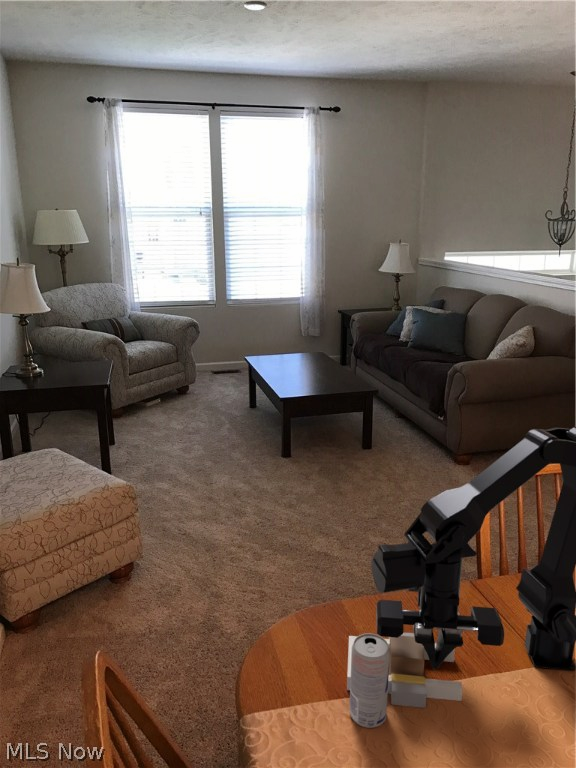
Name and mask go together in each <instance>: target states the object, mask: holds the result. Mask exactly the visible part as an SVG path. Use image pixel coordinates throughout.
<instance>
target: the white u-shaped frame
mask: <svg viewBox="0 0 576 768" xmlns="http://www.w3.org/2000/svg"><path fill="white" fill-rule="evenodd" d="M358 636H359V635H358ZM358 636H355V635H349V636H348V650H347V651H348V654H347V656H348V657H347V674H346V675H347V677H346V678H347V681H346V690H347V691H350V685H351V654H352V645H353V643H354V640H355V638H356V637H358ZM401 636H412V637H414V632H404V631H403V634H402V635H401ZM384 639H385V640H386V641H387V643H388V647H389V646H390V637H387V638H384ZM436 643H437V642H435V649H436ZM455 650H456V648H455V649H454V650H453V651H452V652H451V653H450V654H449V655H448V656H447V657H446V658H445V659H444V661H443V662H449V663H454V662H455ZM423 652H424V659H425V660H426V661H427V660H428V661H430V660H429V657H428V654H427V652H426V651H425V649H424V647H423ZM425 660H424V661H425ZM463 687H464V686H463V683H462V681H457V680H455V681H454V680H445V679H434V678H426V677H425V676H424V675H423V676H413V675H402V674H391V675H390V674H389V676H388V695H390V699H391V700H390V702H391V705H393V706H404V707H413V708H414V707H415V708H426V706H427V699H436V700H437V699H438V700H448V701H457V702H458V701H459V702H462V697H463Z"/></svg>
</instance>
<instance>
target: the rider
mask: <svg viewBox="0 0 576 768" xmlns="http://www.w3.org/2000/svg"><path fill="white" fill-rule="evenodd" d="M389 650H390V657H389V675H391V674H402V675H413V676H423V677H424V673H425V672H424V669H425V659H424V652H423V645H422V644H419V643H416V642H415V638H414V637H412V636H399V637H398V638H395V637H390V646H389Z"/></svg>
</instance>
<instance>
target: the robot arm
mask: <svg viewBox="0 0 576 768" xmlns="http://www.w3.org/2000/svg"><path fill="white" fill-rule="evenodd" d="M550 464H559V466H560V471H561V475H562V486H561V489H560V491H559V496H558V499H557V502H556V507H555V509H554V513H553V515H552V520H551V523H550V526H549V529H548V533H547V537H546V541H545V544H544V548H543V550H542V554H541V558H540V561H539V563H537V564H536V565H534V566H533V567H531V568H530V569H528V568H523V569H522V571H521V575H520V581H519V583H518V585H517V586H516V587H515V589H516V590H517V592H518V599H519V600H520V601H519V602H521V604H522V605H523V606H524V607H525V610H526V611H527V612H529V613H530V614H531V617H530V618H531V619H530V624H527V626H526V631H525V639H524V646H525V649H526V653H527V654H528V656H529V657H530V659H531V662H532V664H533V666H534V667H535V668H541V669H552V670H553V669H555V670H564V671H573V672H574V671H576V663H575V661H574V652H575V646H576V614H575V613H576V584H575V579H574V572H575V570H576V426H573V427H572V428H566V427H565V428H564V427H552V428H549V429H548V428H547V429H540V428H533V429H530V430H529V431H528V432H526V434H524V437H523V439H522V440H521V441H519V442H518V443H517V444H515V446H513V447H512V448H511V449H509V450H508V451H507V452H505V453H504V454H503V455H501V456H500V457H499V458H498V459H497V460H495V461H494V462H493V463H492V464H490V465H488V467H487V468H486V469H484V470H483V471H481V472H480V473H479V474H478V475H477V476H475V477H474V478H473V479H471V480H470V481H469V482H467V483H466V484H464V485H462V486H460V487H456V488H450V489H446V490H444V491H442V492H441V493H439V494H437V495H436V496H433V497H431V499H429V500H427V501H426V502H425V503H424V504H423V505H422V506H421V508H420V513H419V514H418V516H417V517H416V518H415V520H414V521H413V522H412V523H411V525H410V526H409V527H408V528H407V530H406V531H405V532H404V534H403V536H404V537H405V539H406V540H407V542H404V543H398V544H379V545H378V547H377V552H376V551H375V552H374V555H373V556H372V557H373V558H371V563H370V564H371V574H372V579H373V582H374V586H375V587H376V589H377V591H378V592H379V593H381V594H383V593H384V594H385V593H391V592H397V591H405V590H407V591H408V592H415V593H417V599H416V600H417V601H416V602H417V607H419V610H408V609H403V603H402V600H391V599H379V600H378V601H377V602H376V611H375V614H376V617H375V618H376V635H379V636H381V637H383V638H385V637H386V638H389V637H395V638H398V637H399V636H401V635H402V634H403V632H404V625H409V626H412V629H413V633H414V638H415V642H416V643H419V644H422V645H423V647H424V649H425V651H426V652H427V654H428V657H429V660H428V661H429V662H430V663H429V664H430V665H431V669H432V670H438V669H439V667H440V666H441V664H442V663H444V662H445V661H444V659H445V658H446V657H447V656H448V655H449V654H450V653H451V652H452V651H453V650H454V649H455V650H456V648H457V647H459V648H461V647H463V646H464V639H463V635H462V633H464V632H476V639H477V641H478V642H479V643H480V644H481V645H483V646H485V645H486V646H494V647H501V646H502V645H504V641H505V629H504V625H503V622H502V619H501V617H500V614H499V612H498V610H497V609H496V608H495V607H487V606H486V607H485V606H484V607H483V606H475V605H474V606H471V607H470V615H461V613H460V612H459V606H460V593H461V592H460V591H461V582H462V581H461V580H462V569H463V560H464V559H465V558H472V557H476V556H477V555H478V552H477V551H476V549H474V548H473V547H472V546H471V545H470V540H472V539H473V538H474V537H475V536H476V534H478V532H480V531H481V528H482V527H483V524H484V521H485V519H486V516H487V515H488V514H489V513H490V512H491V511H492V510H493V509H494V508H495V507H496V506H498V505H499V504H501V503H502V502H503V501H504V500H505V499H507V498H508V497H509V496H511V495H512V494H513V493H514V492H516V491H517V490H518V489H520V487H522V486H524V484H526V483H527V482H528V481H530V480H532V478H533V477H535V476H536V475H537V474H538V473H539V472H541V471H542V470H544V469H545V468H546V467H548V465H550ZM425 533H427V534H428V535H429V536H430V537H431V538H432V539H433V540H434V541H433V542H432V543H430V541H429V540H428V539H427V538H426V537H425V535H424V534H425ZM434 629H436V630H437V629H438V633H437V634H438V635H437V638H436V642H435V636H434V631H433V630H434ZM435 643H436V649H435Z"/></svg>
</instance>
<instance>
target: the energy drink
mask: <svg viewBox="0 0 576 768" xmlns="http://www.w3.org/2000/svg"><path fill="white" fill-rule="evenodd" d="M385 639H386V638H385V637H383V636H379V635H378V634H377V633H369V632H367V633H362V634H360V635H358V637H356V638H355V640H354V643H353V645H352V654H351V685H350V690H349V691H350V692H349V715H350V717H351V719H352V720H353V721H354V723H355V724H357V725H359V726H361V727H363V728H366V729H367V728H368V729H373V728H377V727H379V726H381V725H382V724H383V723H384V722H385V721H386V720H387V719H386V718H387V712H388V696H389V694H388V676H389V675H390V674H389V657H390V650H389V647H388V643H387V641H386V640H385Z"/></svg>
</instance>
